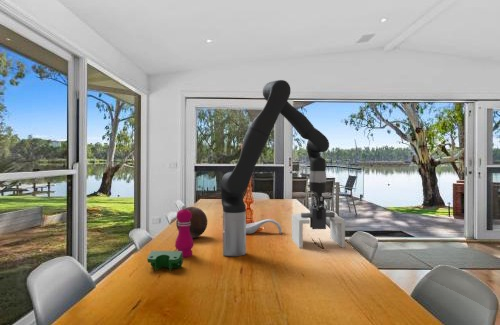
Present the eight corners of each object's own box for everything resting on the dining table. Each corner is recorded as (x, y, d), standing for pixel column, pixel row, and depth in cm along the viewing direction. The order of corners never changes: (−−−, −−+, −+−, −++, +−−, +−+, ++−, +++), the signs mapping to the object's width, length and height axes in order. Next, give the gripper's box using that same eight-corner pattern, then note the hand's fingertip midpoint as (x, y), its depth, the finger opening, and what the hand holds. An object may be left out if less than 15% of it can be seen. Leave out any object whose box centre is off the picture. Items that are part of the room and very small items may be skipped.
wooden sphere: (211, 235, 195) (210, 205, 195) (202, 241, 181) (202, 209, 180) (182, 234, 198) (182, 204, 198) (171, 240, 183) (171, 208, 183)
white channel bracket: (299, 248, 167) (299, 215, 167) (292, 239, 185) (292, 209, 185) (344, 247, 168) (345, 215, 168) (333, 238, 186) (333, 209, 186)
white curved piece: (234, 235, 197) (234, 220, 197) (237, 230, 209) (237, 217, 208) (281, 235, 195) (281, 221, 195) (281, 231, 206) (281, 217, 206)
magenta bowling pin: (197, 254, 157) (196, 204, 157) (186, 258, 151) (186, 207, 150) (182, 252, 160) (181, 204, 160) (171, 256, 154) (171, 206, 153)
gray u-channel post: (312, 229, 173) (312, 209, 173) (310, 227, 178) (310, 207, 178) (325, 229, 173) (325, 208, 173) (323, 227, 178) (323, 207, 178)
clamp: (153, 282, 136) (141, 260, 134) (158, 273, 142) (147, 252, 140) (184, 270, 134) (172, 248, 132) (188, 262, 140) (176, 240, 138)
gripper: (306, 180, 182) (306, 215, 183) (313, 182, 168) (313, 220, 168) (322, 180, 183) (322, 215, 183) (330, 182, 168) (330, 220, 169)
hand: (317, 217), depth 176 cm, fingers open, 6 cm apart
